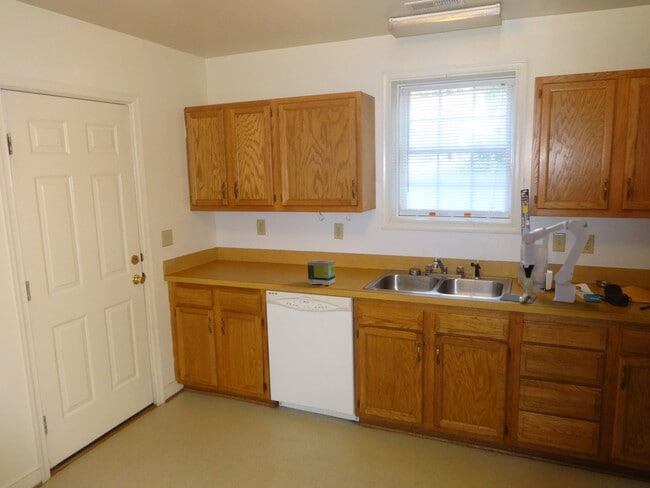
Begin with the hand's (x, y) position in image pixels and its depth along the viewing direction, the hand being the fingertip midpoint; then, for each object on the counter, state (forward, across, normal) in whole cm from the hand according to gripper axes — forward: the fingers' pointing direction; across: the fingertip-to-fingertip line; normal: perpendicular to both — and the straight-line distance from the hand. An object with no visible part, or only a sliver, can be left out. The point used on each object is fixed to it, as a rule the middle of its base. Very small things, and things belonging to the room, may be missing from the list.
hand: (528, 277), depth 263 cm
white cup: (+10, -18, +6) cm, 21 cm away
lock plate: (+9, +10, -3) cm, 14 cm away
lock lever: (+9, +13, +1) cm, 16 cm away
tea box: (+10, +28, -119) cm, 123 cm away
